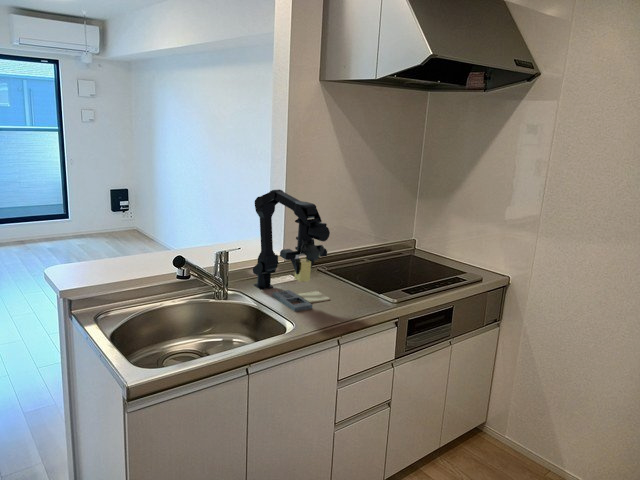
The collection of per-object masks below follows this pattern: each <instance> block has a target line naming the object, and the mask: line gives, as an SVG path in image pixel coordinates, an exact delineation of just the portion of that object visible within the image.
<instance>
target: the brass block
mask: <svg viewBox="0 0 640 480" xmlns="http://www.w3.org/2000/svg"><path fill="white" fill-rule="evenodd" d="M300 259H301V261H300V262H299V273H298V275H297V274H296V272H295V271H294V277H293V278H294V280H296V281H298V282H299V283H305V282H310V280H311V270H312V267H311V261H309V260H307V259H306V258H300Z"/></svg>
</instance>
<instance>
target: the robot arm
mask: <svg viewBox="0 0 640 480" xmlns="http://www.w3.org/2000/svg"><path fill="white" fill-rule="evenodd" d="M278 204H281V205H282V206H284V207H287V208H288V209H290V210H291V211H293V214H294V215H295V216H296V217H297V218H296V219H295V220H294V222H295V223H297V224H298V227H297V228H298V231H297V236H296V237H295V240H297V241H296V242H297V243H296V244H297V245H296V246H295V247H294V249H295V250H293V249H291V248H286V249H285V248H283V249H281V250H280V252H279V255H278V254H276V253H275V251H274V248H273V247H274V245H273V242H274V241H273V223H272V222H273V219H272V218H273V215H274V213H275V211H276V205H278ZM254 209H255V212H256V214H257V216H258V217H259V229H260V230H259V231H260V253H259V254H258V257H257V264H255V265H254V266H253V267H252V273H253V275H257V278H256V283H253V286H254V287H256V288H257V289H259V290H265V289H273V288H274V286H273V285H271V278H272V277H271V276H272V275H271V274H275V273H276V271H277V269H278V267H279V266H278V265H279V257H280V258H282V259H284V260H286V261H291V263H292V266H293V269H294V273H295V272H296V274H297V275H298V273H299V262H300V261H301V259H302V258H300V256H305V257H306V258H305V259H307V260H309V261H311V268H312V267H313V265H314V263H315V262H316V261H317V260H320V257H327V256H328V250H327V248H324V245H323V244H317V245H316V244H315V240H317V241H320V242H326V241H328V239H329V237H330V229H329V227H328V226H327V222H323V220H322V217H321V216H320V214H319V211H318V209H317V205H316V204H314V203H312V202H308V201H302V200H299V199H297V198H296V197H294V196H292V195H290V194H288V193H286V192H284V191H283V190H282V189H271V190H270V191H269V192H267V193H265V194H262V195H261V196H257V197H256V198H255V200H254Z"/></svg>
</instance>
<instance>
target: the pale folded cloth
mask: <svg viewBox="0 0 640 480" xmlns="http://www.w3.org/2000/svg"><path fill="white" fill-rule="evenodd" d="M297 295H298V296H300V297H301V298H303V299H304V300H306V301H307V302H309V303H311V304H313V303H314V304H315V303H319V302H326V301H330V300H331V297H328V296H327V295H325V294H324V293H322V292H320V291H318V290H312V291H307V292H299V293H297Z"/></svg>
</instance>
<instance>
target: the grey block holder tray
mask: <svg viewBox="0 0 640 480" xmlns="http://www.w3.org/2000/svg"><path fill="white" fill-rule="evenodd" d="M297 294H298V293H297ZM297 294H296V293H295V292H293V291H292V290H290V289H286V290H280V291H274V292H272V297H273V298H274V299H276V300H277V301H278V302H280V303H282V304H283V305H285V306H286V307H287V308H288V309H290V310H292V311H293V312H300V311H306V310H311V309H313V303H309V302H307V301H306V300H304V299H303V298H301V297H300V296H298V295H297ZM294 302H299V303H296V304H293V303H294Z"/></svg>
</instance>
